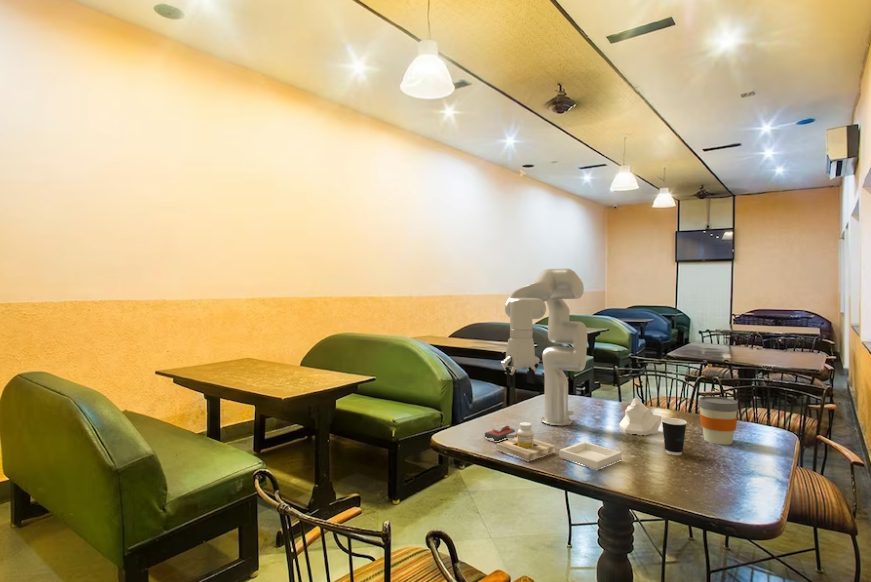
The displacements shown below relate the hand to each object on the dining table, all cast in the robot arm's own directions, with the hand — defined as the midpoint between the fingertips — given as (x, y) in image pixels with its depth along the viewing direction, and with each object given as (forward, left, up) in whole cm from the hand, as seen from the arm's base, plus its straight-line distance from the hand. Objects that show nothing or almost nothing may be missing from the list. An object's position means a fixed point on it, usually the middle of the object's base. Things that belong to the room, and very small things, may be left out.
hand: (520, 384), depth 164 cm
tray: (-12, +19, -23) cm, 32 cm away
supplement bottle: (-1, +1, -23) cm, 23 cm away
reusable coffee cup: (-66, +37, -23) cm, 79 cm away
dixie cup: (-40, +33, -23) cm, 57 cm away
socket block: (-1, +1, -23) cm, 23 cm away
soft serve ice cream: (-54, +13, -23) cm, 60 cm away
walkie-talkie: (-9, -15, -24) cm, 29 cm away
